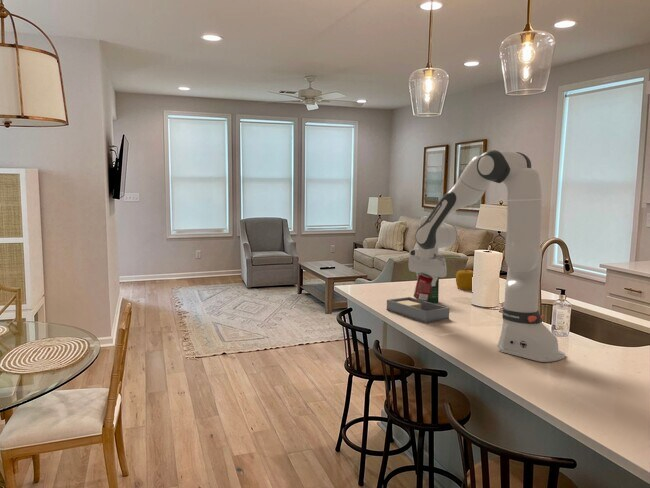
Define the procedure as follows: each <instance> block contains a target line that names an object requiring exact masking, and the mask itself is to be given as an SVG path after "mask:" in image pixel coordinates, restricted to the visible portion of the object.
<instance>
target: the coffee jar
mask: <svg viewBox="0 0 650 488" xmlns="http://www.w3.org/2000/svg"><path fill="white" fill-rule="evenodd" d="M439 283H440V277H438V279H437V281H436V285H435V286H432V289H431V292H430V296H429V299H428V300H427V301H426V302H430V303H433V304H439V297H440V296H439V291H440V290H439V286H440V285H439Z"/></svg>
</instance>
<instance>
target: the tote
mask: <svg viewBox="0 0 650 488" xmlns="http://www.w3.org/2000/svg"><path fill="white" fill-rule="evenodd" d="M406 300H409V301H413V302H416V303H420V304H421V309H418V308H415V307H411V306H408V305H405V304H401V303H398V302H399V301H406ZM386 311H388V312H391V313H395V314H397V315H400V316H402V315H403V317H404V318H409V319H412V320H414V321H418V322H422V323H423V324H428V323H429V324H430V323H436V322H441V321H446V320H450V307H447V306H443V305H439V304H438V303H434V304H433V303H430V302H426V301H419V300H417V299H416V298H415V297H411V296H406V297H399V298H389V299H386Z"/></svg>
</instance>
